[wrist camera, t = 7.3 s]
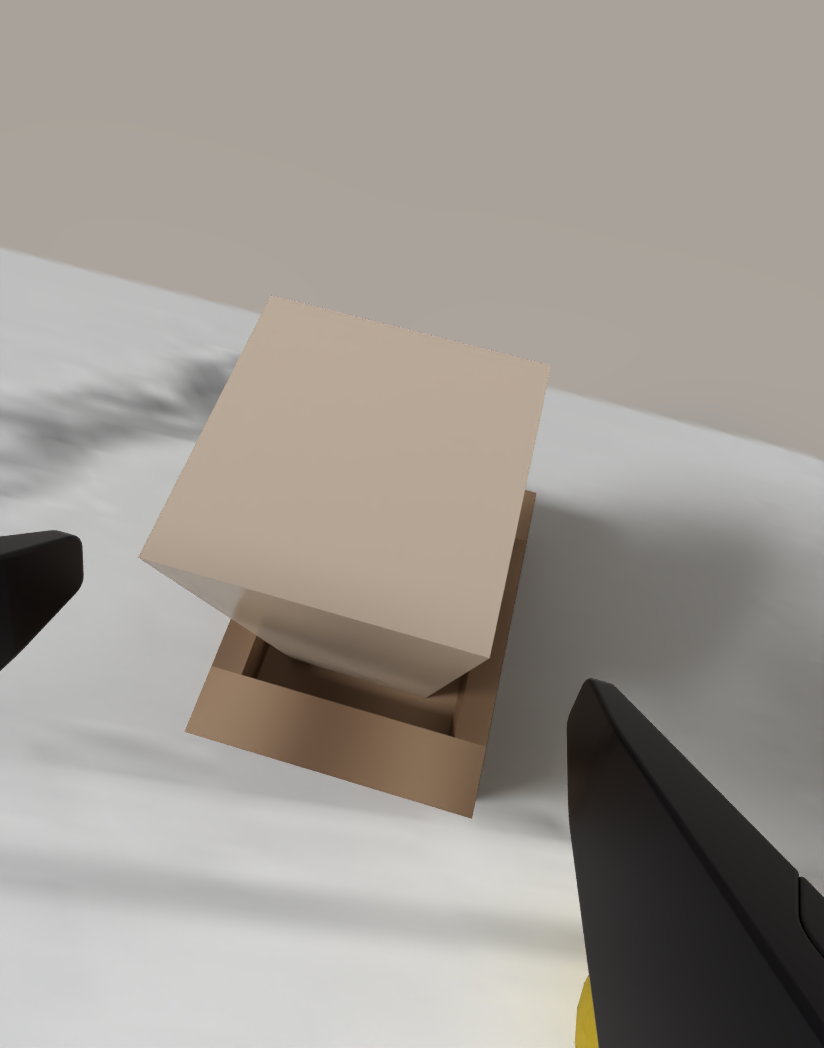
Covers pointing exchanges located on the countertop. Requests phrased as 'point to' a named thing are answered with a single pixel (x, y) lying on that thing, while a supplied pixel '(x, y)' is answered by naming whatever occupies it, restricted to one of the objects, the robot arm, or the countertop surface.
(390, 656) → the clay bar
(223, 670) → the tray
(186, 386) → the countertop surface
